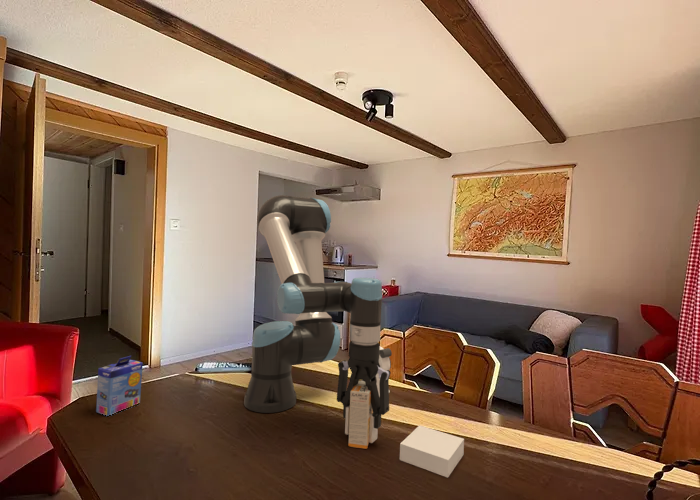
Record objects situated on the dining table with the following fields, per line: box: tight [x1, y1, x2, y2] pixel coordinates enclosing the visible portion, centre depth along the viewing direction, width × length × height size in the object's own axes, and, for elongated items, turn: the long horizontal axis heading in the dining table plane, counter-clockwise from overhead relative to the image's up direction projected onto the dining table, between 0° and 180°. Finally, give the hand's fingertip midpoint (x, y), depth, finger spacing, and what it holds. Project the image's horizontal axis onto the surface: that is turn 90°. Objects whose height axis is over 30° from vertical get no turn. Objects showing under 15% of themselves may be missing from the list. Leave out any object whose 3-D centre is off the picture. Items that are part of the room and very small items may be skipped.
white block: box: [399, 425, 465, 478], centre depth 85 cm, size 11×11×4 cm
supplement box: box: [347, 380, 373, 450], centre depth 92 cm, size 8×5×13 cm, turn 168°
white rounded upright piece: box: [370, 345, 393, 397], centre depth 124 cm, size 12×11×15 cm
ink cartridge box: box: [95, 355, 143, 417], centre depth 104 cm, size 10×6×14 cm, turn 158°
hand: (360, 435), depth 92 cm, fingers closed on supplement box, 6 cm apart
